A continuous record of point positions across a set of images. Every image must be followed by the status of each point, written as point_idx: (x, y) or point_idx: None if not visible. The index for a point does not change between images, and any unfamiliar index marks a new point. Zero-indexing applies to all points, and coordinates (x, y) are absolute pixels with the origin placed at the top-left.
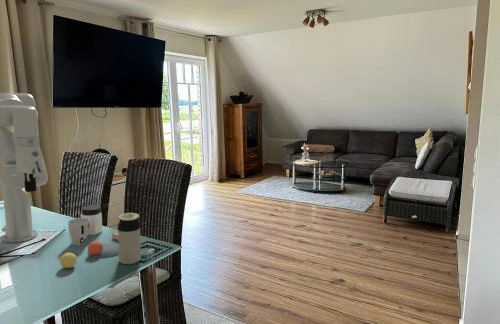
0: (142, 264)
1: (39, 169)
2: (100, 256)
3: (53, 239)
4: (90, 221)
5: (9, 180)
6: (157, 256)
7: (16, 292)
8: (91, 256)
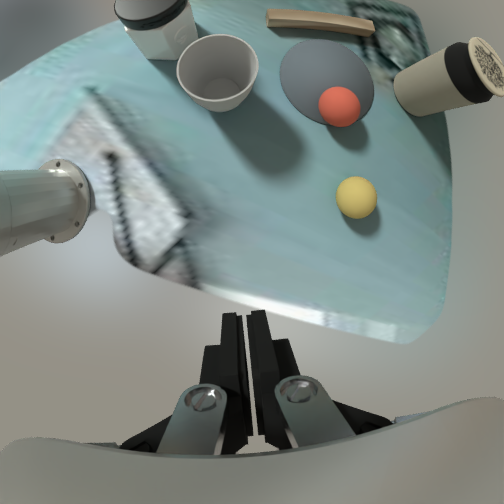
0: None
1: (451, 464)
2: None
3: (130, 136)
4: (182, 26)
5: None
6: None
7: (359, 316)
8: None
